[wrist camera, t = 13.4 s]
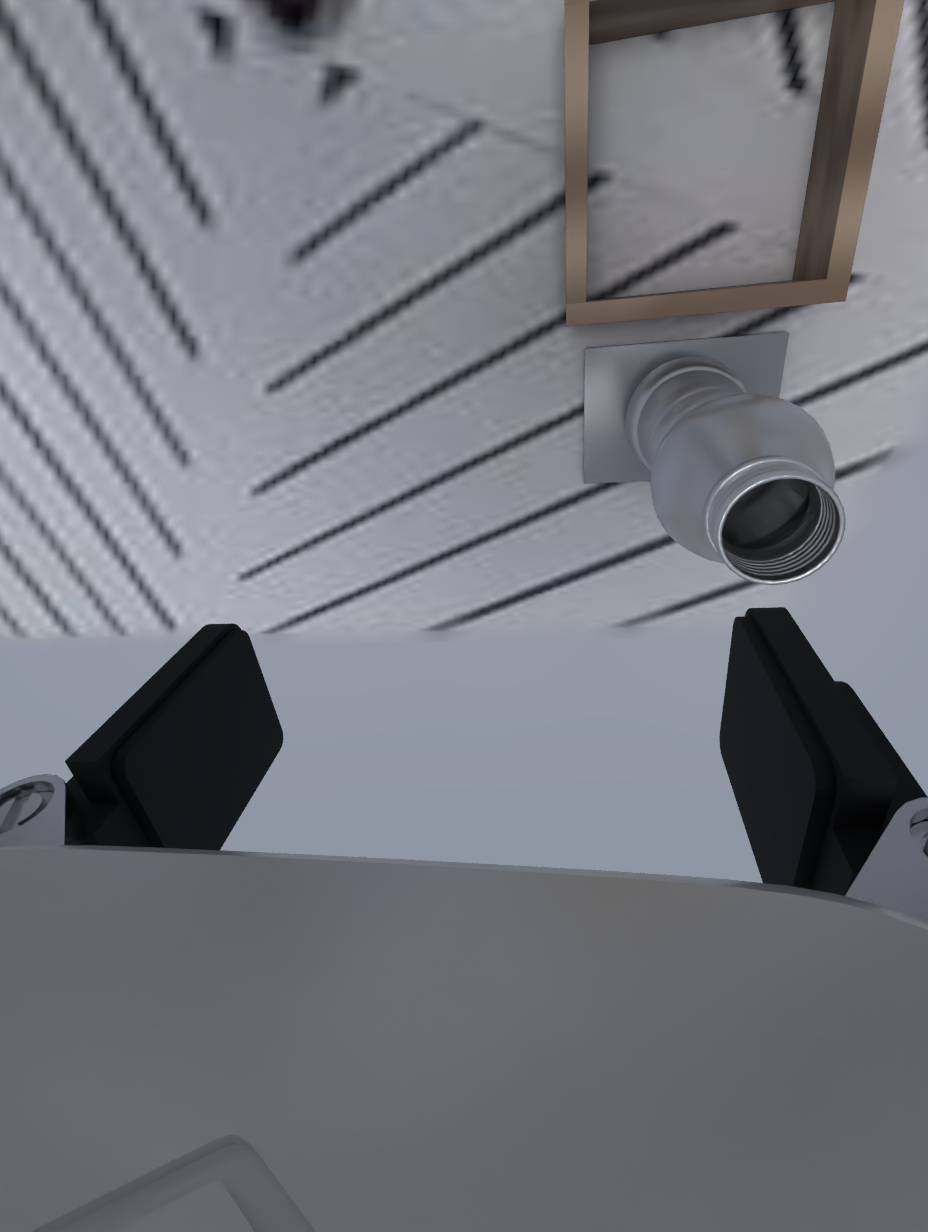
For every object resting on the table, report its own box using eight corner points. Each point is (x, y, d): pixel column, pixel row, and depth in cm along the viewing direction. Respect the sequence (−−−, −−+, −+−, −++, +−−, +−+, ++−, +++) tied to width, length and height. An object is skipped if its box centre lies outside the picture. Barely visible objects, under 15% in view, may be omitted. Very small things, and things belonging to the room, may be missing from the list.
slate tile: (584, 348, 35) (584, 349, 34) (784, 331, 33) (789, 332, 32) (583, 480, 39) (583, 483, 38) (762, 472, 37) (766, 476, 36)
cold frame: (566, 21, 28) (564, -28, 24) (866, -36, 26) (923, -101, 21) (567, 321, 34) (566, 326, 30) (809, 299, 32) (845, 301, 28)
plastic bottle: (681, 325, 33) (797, 366, 16) (763, 406, 34) (955, 525, 17) (599, 417, 36) (620, 536, 19) (677, 488, 37) (764, 660, 20)
